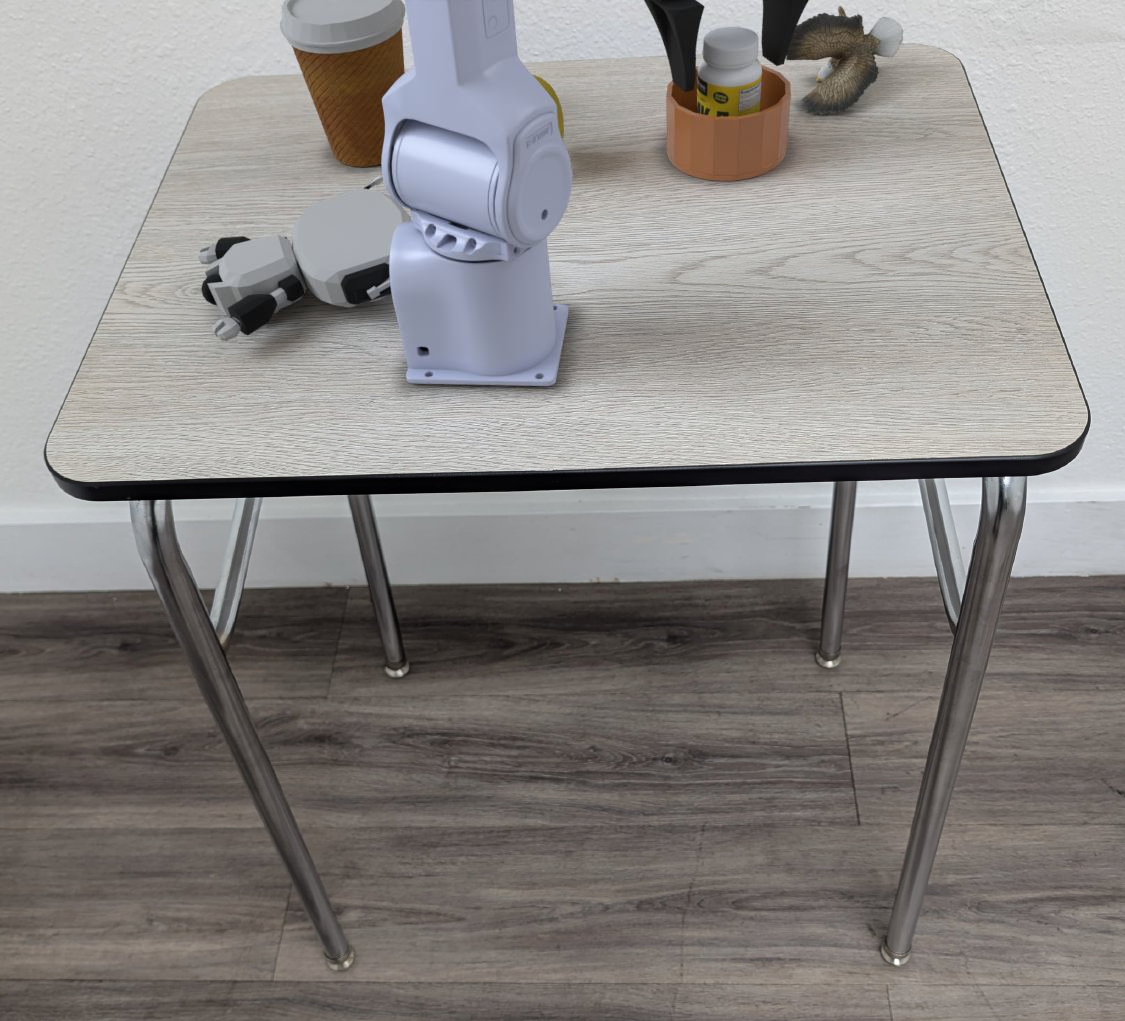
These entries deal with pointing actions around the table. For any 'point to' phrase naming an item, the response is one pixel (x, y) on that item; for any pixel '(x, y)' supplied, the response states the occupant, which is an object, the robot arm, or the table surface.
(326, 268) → the robot toy
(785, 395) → the table surface
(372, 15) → the disposable coffee cup
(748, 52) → the supplement bottle
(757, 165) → the copper cup
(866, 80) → the eagle figurine
